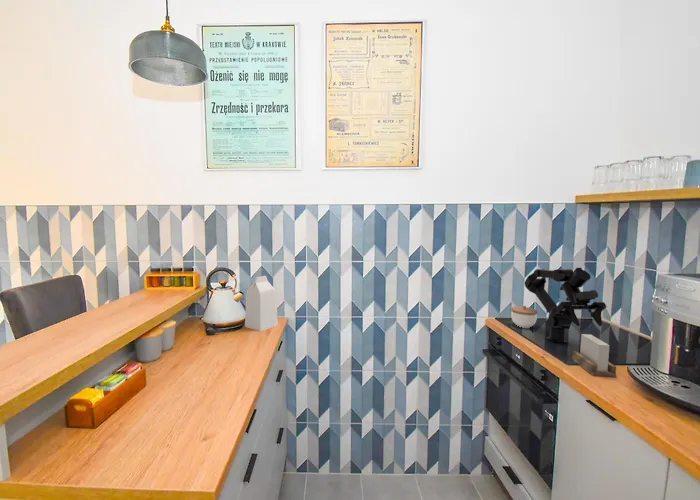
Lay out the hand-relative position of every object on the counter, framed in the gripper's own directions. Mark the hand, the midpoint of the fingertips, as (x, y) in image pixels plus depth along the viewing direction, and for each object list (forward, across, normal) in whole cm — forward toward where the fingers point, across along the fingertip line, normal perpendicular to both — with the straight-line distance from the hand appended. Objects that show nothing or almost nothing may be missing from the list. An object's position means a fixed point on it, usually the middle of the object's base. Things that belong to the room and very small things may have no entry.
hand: (589, 325), depth 142 cm
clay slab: (+16, -5, +2) cm, 16 cm away
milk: (-20, -143, +40) cm, 150 cm away
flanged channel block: (+16, -5, +3) cm, 17 cm away
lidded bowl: (-20, -4, +40) cm, 45 cm away
